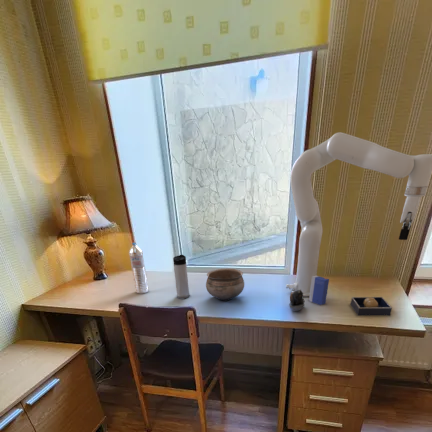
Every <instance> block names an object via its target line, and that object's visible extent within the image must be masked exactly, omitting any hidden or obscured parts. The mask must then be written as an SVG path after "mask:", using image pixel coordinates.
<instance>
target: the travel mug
mask: <svg viewBox="0 0 432 432" xmlns="http://www.w3.org/2000/svg"><path fill="white" fill-rule="evenodd" d="M172 262H173V272H174V280H175V281H174V282H175V288H176V297H177V299H182V300H183V299H188V298H189V297H190V290H189V289H190V288H189V277H188V266H187V257H186V255H184V254H179V255H175V256H174V257H173V258H172Z"/></svg>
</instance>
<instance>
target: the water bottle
mask: <svg viewBox="0 0 432 432" xmlns="http://www.w3.org/2000/svg"><path fill="white" fill-rule="evenodd" d="M131 244H132V246H131V247H130V249H129V250H128V255H129V260H130V265H131V272H132V278H133V283H134V289H135V293H137V294H142V295H143V294H146V293H149V283H148V278H147V272H146V266H145V261H144V255H143V254H144V252H143V249H141V248H140V247H139V246H138V245H137V242H132V243H131Z"/></svg>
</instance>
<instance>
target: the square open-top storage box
mask: <svg viewBox="0 0 432 432" xmlns="http://www.w3.org/2000/svg"><path fill="white" fill-rule="evenodd" d="M368 297H369V296H352V297H351V299H350V304H349V305H350V306H351V308H352V310H353V311H354V312H355V313H356V316H360V317H361V316H362V317H363V316H364V317H365V316H370V317H371V316H391V312H392V309H393V307H392V306H391V305H390V303H388V301H387V300H386V299H385V298H384V297H383V296H371V297H372V298H374V299H375V300H376V301H377V302H378V307H364V300H365V299H366V298H368Z"/></svg>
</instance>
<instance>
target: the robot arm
mask: <svg viewBox="0 0 432 432" xmlns="http://www.w3.org/2000/svg"><path fill="white" fill-rule="evenodd" d="M336 160H339V161H341V162H344V163H348V164H351V165H352V166H356V167H358V168H362V169H366V170H372V171H375V172H378V173H381V174H385V175H387V176H390V177H393V178H396V179H403V178H404V179H405V178H406V177H407V176H408V178H407V183H406V187H405V191H404V197H405V201H404V204H403V208H402V212H401V216H400V220H399V223H400V224H402V227H401V228H400V233H399V236H398V240H400V241H407V240H408V238H409V234H410V230H411V227H412V224H413V223H414V221H415V218H416V215H417V213H418V211H419V207H420V203H421V199H422V197H426V194H427V190H428V186H429V184H430V180H431V176H432V153H422V154H417V155H412V154H407V153H404V152H400V151H397V150H393V149H390V148H388V147H386V146H382V145H380V144H379V143H376V142H373V141H372V140H371V141H370V140H368V139H365V138H361V137H357V136H354V135H351V134H348V133H345V132H340V131H339V132H335V133H334V134H333V135H332V136H330V138H328V139H326V140H325V141H323V142H321V143H319V144H318V145H316V146H314V147H312V148H310V149H306V150H304V151H303V152H302V153H301V154H300V155H299V156H298V158H297V159H296V160H295V162H294V164H293V165H292V167H291V171H290V177H289V178H290V179H289V180H290V187H291V194H292V200H293V204H294V211H295V215H296V218H297V220H298V221H299V223H300V227H301V232H300V235H299V240H298V254H297V255H298V256H297V268H296V276H295V278H296V279H295V281H294V283H292V284H290V283H289V284H285V288H286V289H288V290H291V293H292V292H295V291H296V290H300V289H301V291H302V293H303V297H310V289H311V282H312V276H316V275H317V273H318V268H319V267H318V266H319V258H320V249H321V244H322V238H323V231H324V229H323V224H322V223H323V222H322V218H321V212H320V206H319V203H318V201H317V199H315V196H314V190H313V185H312V174H313V173H315V172H316V171H318V170H320V169H322V168H323V167H325V166H328V165H329V164H331V163H333V162H334V161H336ZM317 276H318V275H317Z"/></svg>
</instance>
